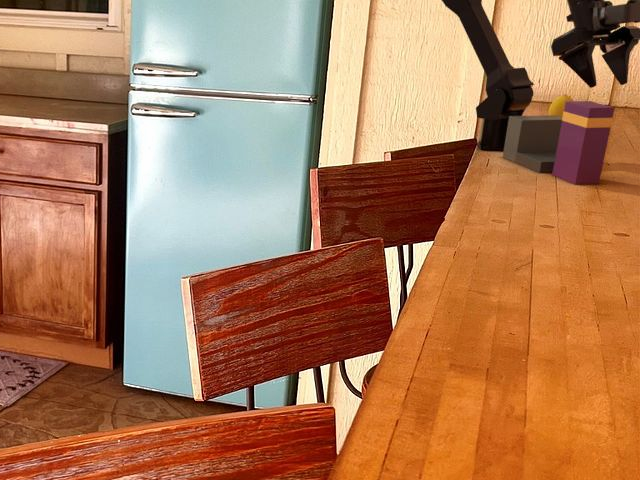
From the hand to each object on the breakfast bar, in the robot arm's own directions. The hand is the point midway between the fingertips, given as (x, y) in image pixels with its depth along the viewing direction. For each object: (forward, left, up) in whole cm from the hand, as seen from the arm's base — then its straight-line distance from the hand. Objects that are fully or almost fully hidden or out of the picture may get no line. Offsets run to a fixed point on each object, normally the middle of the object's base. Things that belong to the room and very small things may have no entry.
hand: (609, 85), depth 161 cm
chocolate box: (-6, -11, -15) cm, 19 cm away
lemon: (+3, +41, -15) cm, 44 cm away
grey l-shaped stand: (-8, +2, -15) cm, 17 cm away
